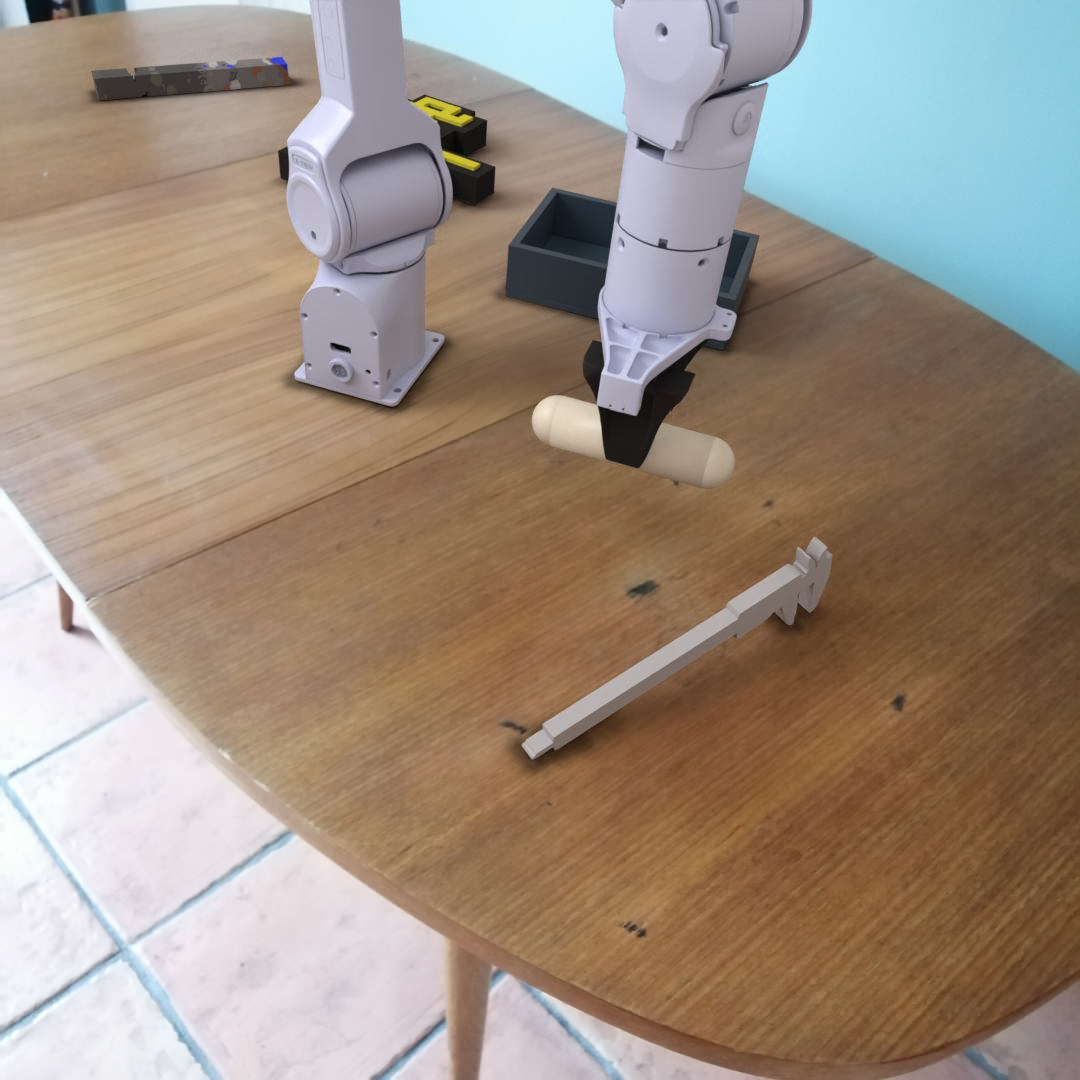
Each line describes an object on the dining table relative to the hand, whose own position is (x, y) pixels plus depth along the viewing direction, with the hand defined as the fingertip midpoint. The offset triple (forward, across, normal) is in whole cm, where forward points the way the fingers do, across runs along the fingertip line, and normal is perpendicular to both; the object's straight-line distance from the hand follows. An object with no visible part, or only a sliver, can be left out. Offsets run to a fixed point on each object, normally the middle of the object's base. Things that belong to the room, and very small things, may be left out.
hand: (631, 442), depth 58 cm
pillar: (+8, +49, +60) cm, 78 cm away
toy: (+8, +42, +32) cm, 53 cm away
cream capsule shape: (+1, 0, 0) cm, 1 cm away
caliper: (+8, -9, -6) cm, 14 cm away
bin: (+8, +30, +7) cm, 32 cm away
